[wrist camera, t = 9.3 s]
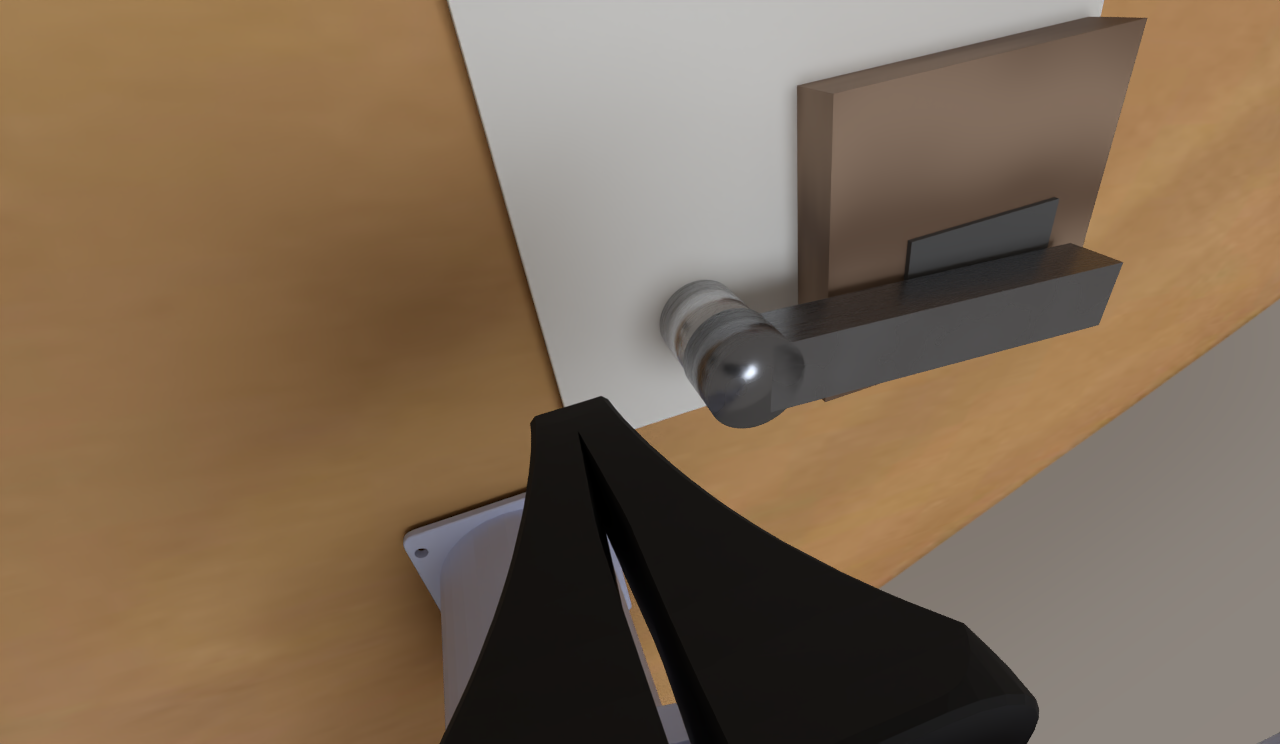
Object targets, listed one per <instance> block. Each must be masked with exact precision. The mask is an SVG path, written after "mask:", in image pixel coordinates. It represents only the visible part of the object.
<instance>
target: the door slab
mask: <svg viewBox="0 0 1280 744" xmlns="http://www.w3.org/2000/svg"><path fill="white" fill-rule="evenodd" d="M1146 21H1147V18H1126V17H1085V18H1081V19H1077V20H1072V21H1068V22H1064V23H1060V24H1056V25H1051V26H1047V27H1043V28H1039V29H1034V30H1030V31H1026V32H1022V33H1017V34H1013V35H1009V36H1005V37H1001V38H996V39H992V40H988V41H984V42H979V43H975V44H971V45H967V46H962V47H958V48H954V49H950V50H946V51H941V52H937V53H933V54H929V55H924V56H920V57H916V58H912V59H907V60H903V61H899V62H895V63H891V64H886V65H882V66H878V67H874V68H869V69H865V70H861V71H857V72H852V73H848V74H844V75H840V76H835V77H831V78H827V79H823V80H819V81H814V82H810V83H806V84H802V85H797V202H798V305H799V304H803V303H808V302H812V301H817V300H821V299H825V298H830V297H834V296H839V295H843V294H847V293H852V292H856V291H861V290H865V289H869V288H874V287H878V286H883V285H887V284H891V283H896V282H900V281H904V273H905V263H906V254H907V245H908V240H911V239H914V238H918V237H921V236H924V235H928V234H931V233H935V232H938V231H941V230H945V229H948V228H951V227H955V226H958V225H962V224H965V223H968V222H972V221H975V220H979V219H982V218H985V217H989V216H992V215H996V214H999V213H1002V212H1006V211H1009V210H1012V209H1016V208H1019V207H1023V206H1026V205H1029V204H1033V203H1036V202H1040V201H1043V200H1046V199H1050V198H1053V197H1056V198H1059V203H1058V207H1057V211H1056V215H1055V219H1054V223H1053V227H1052V231H1051V235H1050V239H1049V243H1048V247H1047V248H1050V247H1054V246H1059V245H1063V244H1067V243H1072V244H1075V245H1078V246H1080V247H1083V243H1084V240H1085V236H1086V233H1087V229H1088V226H1089V222H1090V219H1091V215H1092V212H1093V208H1094V205H1095V201H1096V198H1097V194H1098V190H1099V187H1100V183H1101V180H1102V176H1103V173H1104V169H1105V166H1106V162H1107V159H1108V155H1109V152H1110V148H1111V144H1112V141H1113V137H1114V134H1115V130H1116V127H1117V123H1118V120H1119V116H1120V113H1121V109H1122V106H1123V102H1124V99H1125V95H1126V91H1127V88H1128V84H1129V81H1130V77H1131V74H1132V70H1133V67H1134V63H1135V60H1136V56H1137V53H1138V49H1139V46H1140V42H1141V38H1142V35H1143V31H1144V28H1145V24H1146ZM879 384H880V383H879ZM875 385H877V384H875ZM872 386H874V385H872ZM868 387H871V386H868ZM868 387H864V388H860V389H857V390H853V391H849V392H845V393H842V394H838V395H834V396H830V397H827V398H823V400H824V401H825V402H827V401H830V400H833V399H836V398H839V397H841V396H844V395H847V394H850V393H853V392H856V391H859V390H862V389H865V388H868Z"/></svg>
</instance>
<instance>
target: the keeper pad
mask: <svg viewBox="0 0 1280 744" xmlns="http://www.w3.org/2000/svg"><path fill="white" fill-rule="evenodd" d="M1058 203H1059V198H1056V197H1053V198H1050V199H1046V200H1043V201H1040V202H1036V203H1033V204H1029V205H1026V206H1023V207H1019V208H1016V209H1012V210H1009V211H1006V212H1002V213H999V214H996V215H992V216H989V217H985V218H982V219H979V220H975V221H972V222H968V223H965V224H962V225H958V226H955V227H951V228H948V229H945V230H941V231H938V232H935V233H931V234H928V235H924V236H921V237H918V238H914V239H911V240H908V245H907V254H906V263H905V273H904V281H905V280H909V279H913V278H918V277H922V276H927V275H931V274H935V273H940V272H944V271H949V270H953V269H957V268H962V267H966V266H971V265H975V264H979V263H984V262H988V261H993V260H997V259H1001V258H1006V257H1010V256H1015V255H1019V254H1023V253H1028V252H1032V251H1037V250H1041V249H1045V248H1047V247H1048V243H1049V239H1050V235H1051V231H1052V227H1053V223H1054V219H1055V215H1056V211H1057V207H1058Z"/></svg>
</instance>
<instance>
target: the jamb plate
mask: <svg viewBox="0 0 1280 744" xmlns="http://www.w3.org/2000/svg"><path fill="white" fill-rule="evenodd" d="M447 3H448V7H449V10H450V14H451V17H452V21H453V24H454V28H455V31H456V35H457V38H458V42H459V45H460V49H461V52H462V56H463V59H464V63H465V66H466V69H467V73H468V76H469V80H470V83H471V87H472V90H473V94H474V97H475V101H476V104H477V108H478V111H479V115H480V118H481V122H482V125H483V129H484V132H485V136H486V139H487V143H488V146H489V149H490V153H491V156H492V160H493V163H494V167H495V170H496V174H497V177H498V181H499V184H500V188H501V191H502V195H503V198H504V202H505V205H506V209H507V212H508V216H509V219H510V222H511V226H512V229H513V233H514V236H515V240H516V243H517V247H518V250H519V254H520V257H521V261H522V264H523V268H524V271H525V275H526V278H527V282H528V285H529V289H530V292H531V296H532V299H533V302H534V306H535V309H536V313H537V316H538V320H539V323H540V327H541V330H542V334H543V337H544V341H545V344H546V348H547V351H548V355H549V358H550V362H551V365H552V369H553V372H554V375H555V379H556V382H557V386H558V389H559V393H560V396H561V400H562V403H563V407H567V406H570V405H573V404H577V403H580V402H583V401H586V400H590V399H593V398H596V397H599V396H603V397H605V398H607V399H609V401H610V402H611V404H612V405H613V406H614V407H615V409H616V410H617V411H618V412H619V413H620V414H621V416H622V417H623V418H624V419H625V420H626V421H627V422H628V423H629V424H630V425H631V426H632V427H633V428H634V429H636V428H640V427H643V426H646V425H649V424H652V423H655V422H658V421H661V420H664V419H667V418H670V417H673V416H676V415H679V414H682V413H685V412H688V411H691V410H695V409H698V408H701V407H704V406H706V404H705V403H704V401H703V400H702V399H701V397H700V396H699V394H698V393H697V392H696V390H695V389H694V387H693V386H692V384H691V383H690V382H689V380H688V379H687V377H686V375H685V371H684V368H683V367H682V366H681V364H680V363H679V361H678V360H677V359H676V357H675V356H674V354H673V353H672V352H671V350H670V349H669V348H668V346H667V345H666V343H665V342H664V340H663V338H662V336H661V332H660V317H661V313H662V310H663V308H664V306H665V304H666V303H667V301H668V300H669V298H670V297H671V296H672V295H673V294H674V293H675V292H676V291H677V290H678V289H680V288H681V287H683V286H684V285H686V284H688V283H691V282H694V281H698V280H714V281H717V282H720V283H722V284H724V285H725V286H726V287H728V288H729V289H730V290H731V291H732V292H733V293H734V294H735V295H736V296H737V297H738V298H739V299H741V300H742V301H743V302H744V303H745V304H746V305H747V306H748V307H749V308H750V309H751V310H754V311H756V312H758V313H764V312H768V311H772V310H777V309H781V308H786V307H790V306H795V305H798V202H797V85H802V84H806V83H810V82H814V81H819V80H823V79H827V78H831V77H835V76H840V75H844V74H848V73H852V72H857V71H861V70H865V69H869V68H874V67H878V66H882V65H886V64H891V63H895V62H899V61H903V60H907V59H912V58H916V57H920V56H924V55H929V54H933V53H937V52H941V51H946V50H950V49H954V48H958V47H962V46H967V45H971V44H975V43H979V42H984V41H988V40H992V39H996V38H1001V37H1005V36H1009V35H1013V34H1017V33H1022V32H1026V31H1030V30H1034V29H1039V28H1043V27H1047V26H1051V25H1056V24H1060V23H1064V22H1068V21H1072V20H1077V19H1081V18H1085V17H1100V15H1101V11H1102V7H1103V3H1104V0H447Z"/></svg>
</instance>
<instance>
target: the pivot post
mask: <svg viewBox="0 0 1280 744" xmlns="http://www.w3.org/2000/svg"><path fill="white" fill-rule="evenodd" d="M733 308H747V309H750V308H749V307H748V306H747V305H746V304H745V303H744V302H743V301H742V300H741V299H739V298H738V297H737V296H736V295H735V294H734V293H733V292H732V291H731V290H730V289H729V288H728V287H726V286H725V285H724V284H722V283H720V282H717V281H714V280H698V281H694V282H691V283H688V284H686V285H684V286H683V287H681V288H680V289H678V290H677V291H676V292H675V293H674V294H673V295H672V296H671V297H670V298H669V300H668V301H667V303H666V304H665V306H664V308H663V310H662V313H661V317H660V332H661V336H662V338H663V340H664V342H665V343H666V345H667V346H668V348H669V349H670V350H671V352H672V353H673V354H674V356H675V357H676V359H677V360H678V361H679V363H680V364H681V366H682V367H683V368H684V366H683V357H684V352H685V348H686V346H687V343H688V341H689V339H690V338H691V336H692V334H693V333H694V332H695V330H696V329H697V328H698V327H699V326H700V325H701V324H702V323H703V322H704V321H706V320H707V319H708V318H710V317H711V316H713V315H715V314H717V313H719V312H721V311H724V310H728V309H733Z"/></svg>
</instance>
